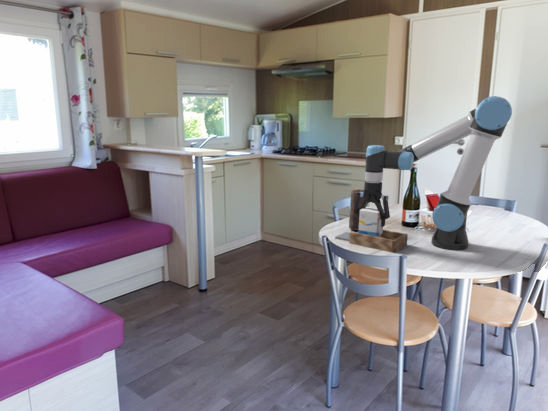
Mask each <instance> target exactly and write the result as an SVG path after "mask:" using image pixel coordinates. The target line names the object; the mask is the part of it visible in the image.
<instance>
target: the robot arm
mask: <svg viewBox="0 0 548 411" xmlns="http://www.w3.org/2000/svg"><path fill="white" fill-rule="evenodd" d="M512 113H513V109H512V105H511V103H510V102H509V101H508V100H507V99H506V98H504V97H501V96H489V97H486V98H484V99H483V100H482V101H480V102H479V104H478V105H477V106H476V107H475V108H473V109H472V110H471V111H469V112H468V114H467V115H466V116H464V117H462V118H460V119H458V120H456V121H455V122H452V123H450V124H448V125H447V126H445V127H443V128H441V129H439V130H437V131H434V132H433V133H431V134H429V135H428V136H425V137H423V138H421V139H419V140H417V141H416V142H415V141H414V143H412V144H409V145H408V146H406V147H403V148H402V149H400V150H395V151H393V150H385V146H384V145H381V144H380V145H379V144H371V145H368V146H367V147H366V153H365V168H364V169H365V171H364V183H363V184H364V187H363V188H364V192H359V193H357V197H358V198H357V202H356V205H355V209H354V213H356V214H357V215H358V220H357V221H358V222H359V215H360V210H361V209H364V208H366V207H368V205H369V203H372V204H374V205H375V206H376V207H375V208H377V209H378V211H379V212H380V217H381V219H379V231H378V234H381V233H383V230H384V227H385V226H386V220H388V219H389V218H391V215H390V208H389V195H385V194H383V193H382V191H383V179H384V178H383V176H384V169H387V170H390V169H391V170H397V171H399V170H400V171H410V170H412V169H413V166H414V163H416V162H418V161H419V160H422V159H423V158H425V157H427V156H429V155H432V154H434V153H436V152H438V151H441V150H442V149H445V148H446V147H448V146H451V145H453V144H454V143H457V142H459V141H460V140H462V139H464V138H466V137H468V136H469V138H468V141H467V143H466V146H465V148H464V150H463V153H462V155H461V158H460V160H459V162H458V165H457V167H456V169H455V172H454V174H453V177H452V178H451V182H450V184H449V186H448V188H447V190H445V191H443V192H441V193H440V194H439V198H438V201H437V204H436V206H435V208H434V209H433V211H432V214H431V216H432V217H431V219H432V222H433V224H434V225H435V230H434V232H433V234H432V236H431V242H430V243H431V244H432V245H433V246H434V247H436V248H441V249H445V250H452V251H453V250H454V251H456V250H457V251H459V250H465V249H467V248H469V239H468V234H467V230H466V229H467V228H466V227H467V218H468V211H469V209H470V208H471V207H470V206H471V205H472V201H471V200H470V198H471V195H472V192H473V191H474V188H475V185H476V184H477V183H478V182H477V181H478V179H479V177H480V174H481V173H482V170H483V169H484V166H485V164H486V161H487V159H488V156H489V155H490V152H491V150H492V147H493V146H494V143H495V142H496V140H498V139H501V138H502V136H503V134H504V131H505V129H506V127H507V125H508V123H509V121H510V120H511V118H512ZM363 195H364V197H365V200H364V203H363V204H362V206H361V208H360V205H361V201H362V197H363ZM381 200H382V202H381ZM382 205H383V206H382ZM359 209H360V210H359ZM383 209H384V211H383Z"/></svg>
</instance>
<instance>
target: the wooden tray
mask: <svg viewBox="0 0 548 411" xmlns="http://www.w3.org/2000/svg"><path fill="white" fill-rule="evenodd" d="M349 233H350V241H348V243H349V244H352V245H356V246H362V247H365V248H369V249H370V248H371V249H376V250H378V251H379V250H380V251H384V252H388V253H393V254H395V253H396V252H398V251H399V250H401V249H403V248H404V247H406V246H407V244H408V236H409V235H408V233H404V232H398V231H395V230H394V231H392V230H388V229H383V233H382V234H381V235H380V236H378V237H376V236H370V235H365V234H360V233H358V232H355V231H350V232H349Z"/></svg>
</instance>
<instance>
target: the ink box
mask: <svg viewBox="0 0 548 411" xmlns="http://www.w3.org/2000/svg"><path fill="white" fill-rule="evenodd" d="M383 211H384V208H383ZM379 219H381V217H380V212H379V211H378V209H377V207H372V206H366V208H364V209H361V210H360V215H359V230H357V233H360V234H365V235H370V236H376V237H378V236H380V235H381V234H382V233H381V234H378V231H379Z"/></svg>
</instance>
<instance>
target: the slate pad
mask: <svg viewBox="0 0 548 411" xmlns="http://www.w3.org/2000/svg"><path fill="white" fill-rule="evenodd" d="M334 239H335V240H341V241H346V242H349V241H350V232H348V231H345V232H343V233H340V234H338V235H336V236H334Z"/></svg>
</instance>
